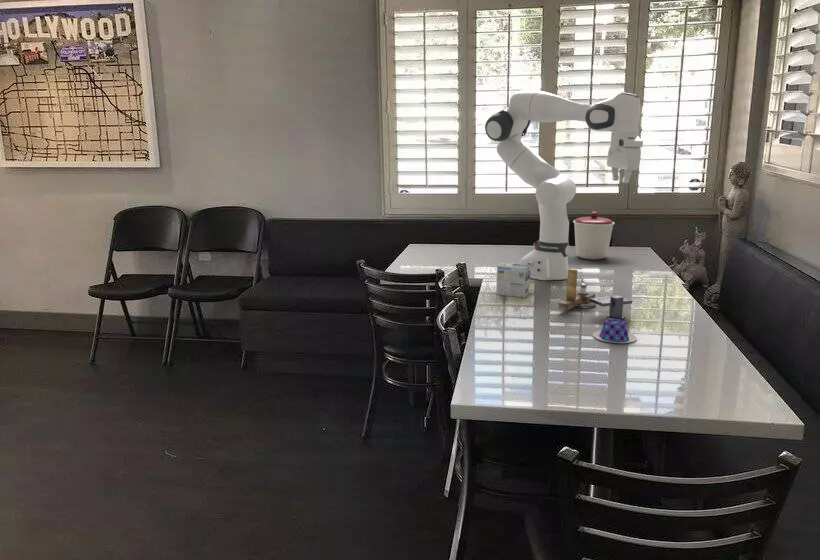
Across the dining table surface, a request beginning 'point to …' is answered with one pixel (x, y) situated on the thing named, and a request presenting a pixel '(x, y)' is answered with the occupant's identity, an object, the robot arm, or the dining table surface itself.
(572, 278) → the link
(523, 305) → the dining table surface
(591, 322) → the dining table surface
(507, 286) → the light bulb box
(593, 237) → the canister
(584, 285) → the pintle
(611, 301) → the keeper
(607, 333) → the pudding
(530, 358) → the dining table surface
